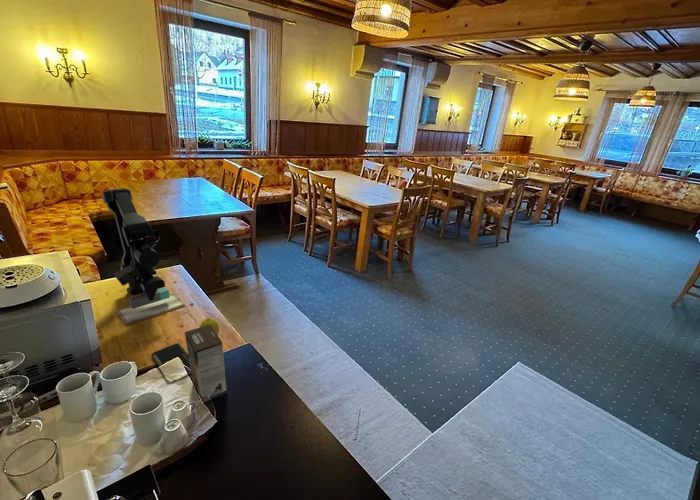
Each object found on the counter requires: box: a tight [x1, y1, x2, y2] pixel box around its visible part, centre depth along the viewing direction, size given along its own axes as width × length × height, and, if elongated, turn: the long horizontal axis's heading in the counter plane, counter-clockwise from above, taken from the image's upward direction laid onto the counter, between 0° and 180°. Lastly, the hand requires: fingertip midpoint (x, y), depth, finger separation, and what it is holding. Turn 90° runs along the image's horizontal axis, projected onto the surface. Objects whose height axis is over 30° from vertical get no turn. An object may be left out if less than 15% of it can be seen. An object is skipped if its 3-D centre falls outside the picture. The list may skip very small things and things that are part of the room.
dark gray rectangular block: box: [127, 286, 170, 309], centre depth 121 cm, size 3×12×3 cm, turn 136°
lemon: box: [199, 317, 220, 336], centre depth 106 cm, size 6×6×8 cm
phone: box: [151, 343, 190, 367], centre depth 97 cm, size 8×1×15 cm
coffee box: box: [184, 325, 228, 397], centre depth 86 cm, size 9×6×16 cm
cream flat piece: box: [115, 293, 186, 326], centre depth 122 cm, size 11×19×1 cm, turn 136°
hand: (149, 298), depth 121 cm, fingers closed on dark gray rectangular block, 3 cm apart
